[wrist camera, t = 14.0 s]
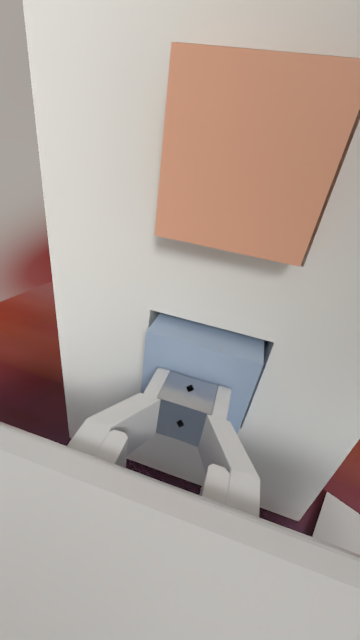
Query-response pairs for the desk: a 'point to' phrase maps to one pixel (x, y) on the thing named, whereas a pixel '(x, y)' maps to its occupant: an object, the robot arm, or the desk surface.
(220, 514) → the robot arm
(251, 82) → the terracotta button
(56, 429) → the desk surface
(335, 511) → the paper stack
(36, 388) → the desk surface
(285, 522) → the desk surface
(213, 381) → the slate button
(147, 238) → the button panel
